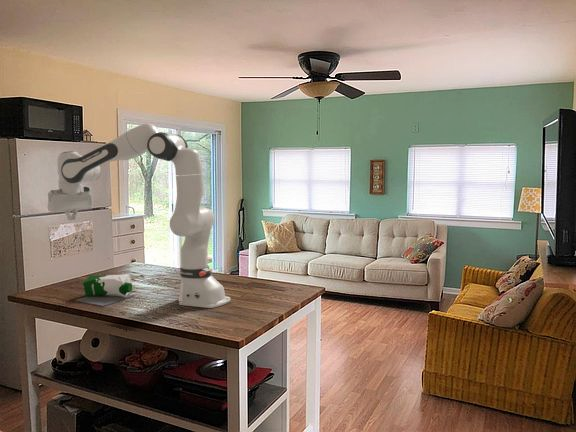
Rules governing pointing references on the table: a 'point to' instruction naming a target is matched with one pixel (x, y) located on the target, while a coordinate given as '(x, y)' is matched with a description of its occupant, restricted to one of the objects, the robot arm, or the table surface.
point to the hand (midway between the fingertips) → (71, 220)
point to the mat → (102, 300)
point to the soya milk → (108, 285)
